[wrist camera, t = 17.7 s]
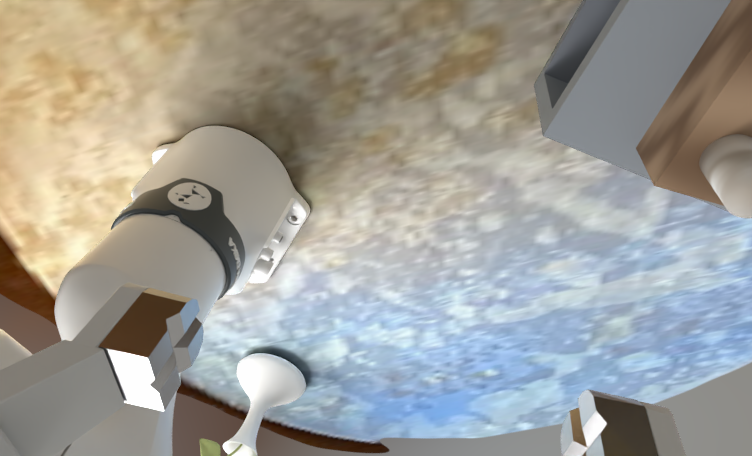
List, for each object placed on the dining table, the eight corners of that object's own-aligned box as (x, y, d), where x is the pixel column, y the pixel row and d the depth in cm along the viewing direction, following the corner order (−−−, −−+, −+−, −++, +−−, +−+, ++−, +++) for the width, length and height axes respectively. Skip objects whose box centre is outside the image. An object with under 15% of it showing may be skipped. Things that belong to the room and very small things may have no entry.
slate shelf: (696, 152, 43) (740, 216, 36) (534, 84, 43) (542, 135, 35) (957, -139, 30) (1122, -137, 22) (725, -247, 29) (810, -285, 21)
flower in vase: (321, 387, 78) (264, 563, 59) (264, 393, 82) (194, 558, 63) (281, 334, 72) (201, 512, 52) (222, 343, 76) (128, 511, 57)
